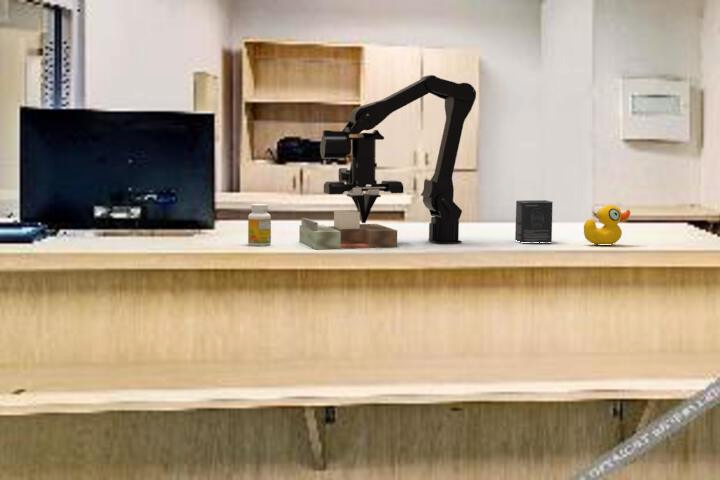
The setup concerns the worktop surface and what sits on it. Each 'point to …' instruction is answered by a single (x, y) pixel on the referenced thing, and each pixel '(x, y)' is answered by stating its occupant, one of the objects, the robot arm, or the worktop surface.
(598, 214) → the duckling
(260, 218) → the supplement bottle
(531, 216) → the box
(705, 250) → the worktop surface
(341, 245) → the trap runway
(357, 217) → the cream block
